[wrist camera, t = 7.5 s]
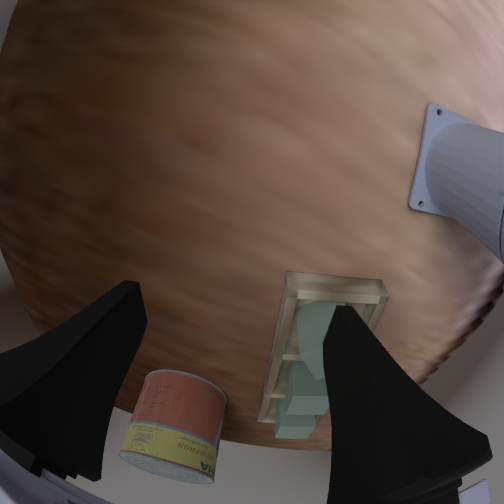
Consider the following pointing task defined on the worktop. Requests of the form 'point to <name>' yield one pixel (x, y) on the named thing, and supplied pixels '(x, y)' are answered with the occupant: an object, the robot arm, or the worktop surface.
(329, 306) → the loose block
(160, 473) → the canned food
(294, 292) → the rack
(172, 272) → the worktop surface
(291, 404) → the seated block
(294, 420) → the seated block
